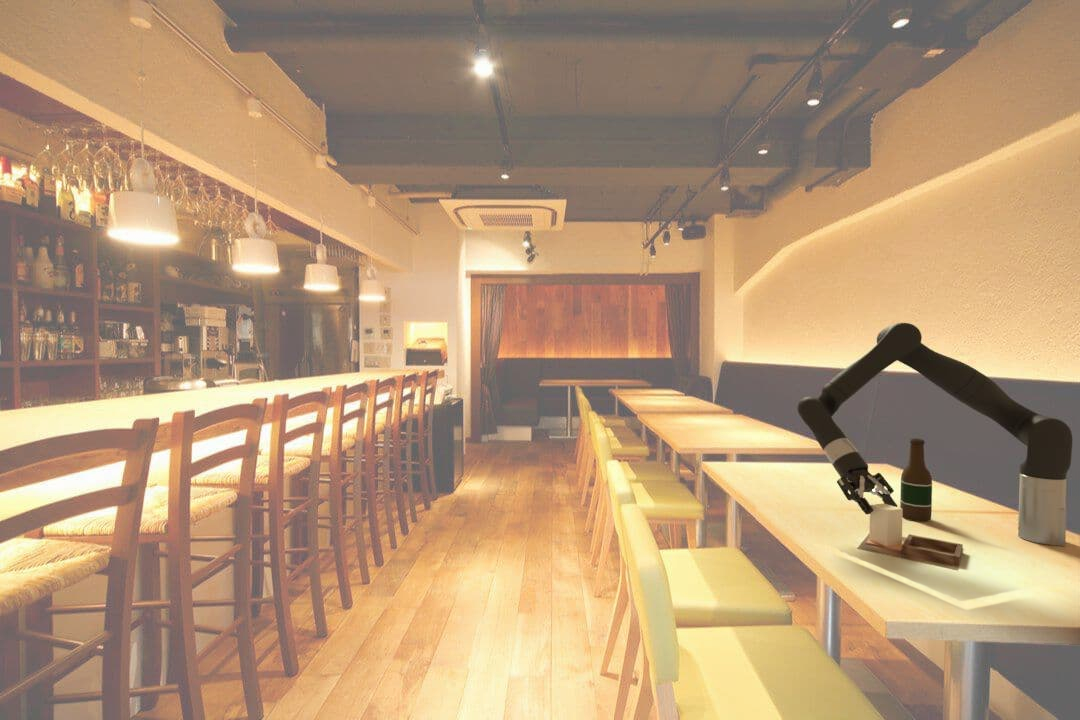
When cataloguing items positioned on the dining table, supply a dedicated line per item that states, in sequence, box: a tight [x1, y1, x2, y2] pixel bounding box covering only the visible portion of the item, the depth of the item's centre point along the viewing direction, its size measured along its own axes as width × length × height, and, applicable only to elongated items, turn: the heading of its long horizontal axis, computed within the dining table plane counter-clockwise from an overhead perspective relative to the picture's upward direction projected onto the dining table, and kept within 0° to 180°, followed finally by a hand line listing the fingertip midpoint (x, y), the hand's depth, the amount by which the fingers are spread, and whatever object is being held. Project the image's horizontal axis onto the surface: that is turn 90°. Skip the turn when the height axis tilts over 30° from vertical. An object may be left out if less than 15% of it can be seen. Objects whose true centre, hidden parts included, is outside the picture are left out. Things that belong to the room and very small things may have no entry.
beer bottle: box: [899, 438, 933, 523], centre depth 165 cm, size 8×8×24 cm
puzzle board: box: [856, 532, 964, 571], centre depth 136 cm, size 20×18×3 cm
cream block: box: [868, 502, 903, 546], centre depth 140 cm, size 5×5×9 cm
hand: (882, 511), depth 141 cm, fingers open, 8 cm apart
